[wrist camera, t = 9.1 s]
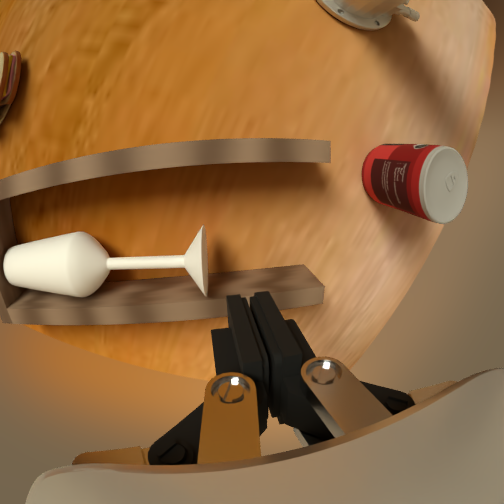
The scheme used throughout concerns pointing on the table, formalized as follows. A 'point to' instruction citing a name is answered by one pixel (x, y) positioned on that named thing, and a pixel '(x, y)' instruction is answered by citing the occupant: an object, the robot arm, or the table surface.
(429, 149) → the canned food
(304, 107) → the table surface
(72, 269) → the champagne flute
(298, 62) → the table surface
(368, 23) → the robot arm
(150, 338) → the table surface
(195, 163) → the walnut U-rest
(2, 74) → the toy sandwich meal
